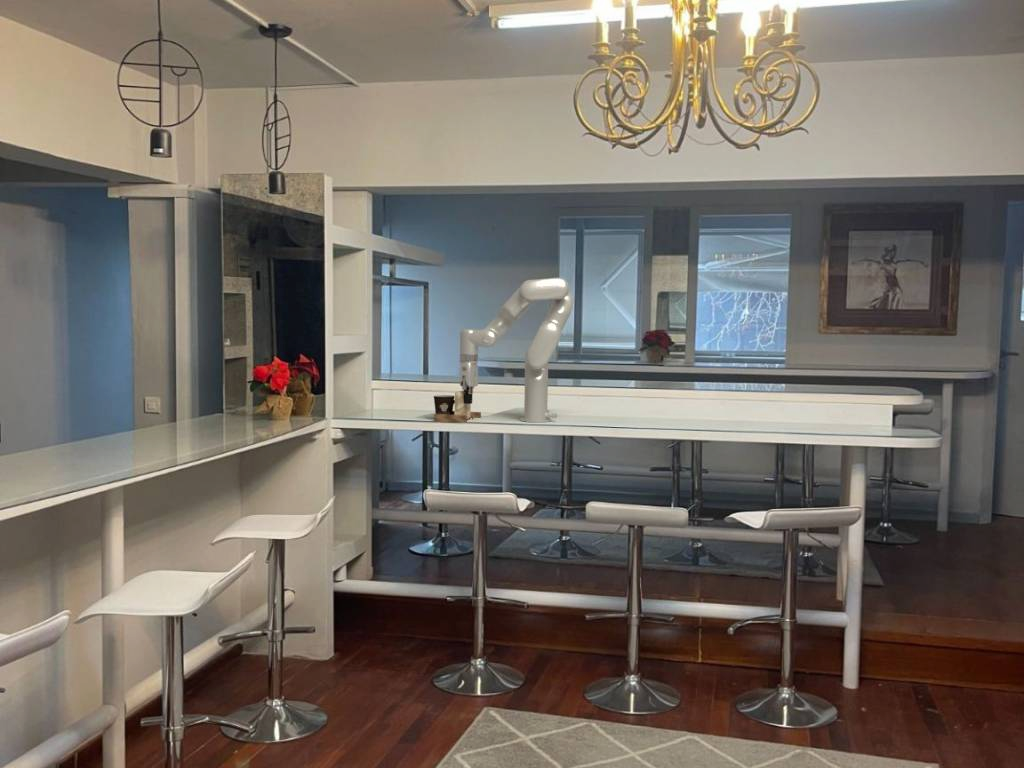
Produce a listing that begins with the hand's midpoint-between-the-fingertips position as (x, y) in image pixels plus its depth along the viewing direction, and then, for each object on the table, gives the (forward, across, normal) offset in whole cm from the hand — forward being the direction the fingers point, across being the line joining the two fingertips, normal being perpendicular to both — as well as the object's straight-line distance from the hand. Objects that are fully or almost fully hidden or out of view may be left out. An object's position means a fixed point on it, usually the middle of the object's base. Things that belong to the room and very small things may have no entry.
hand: (467, 403), depth 395 cm
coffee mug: (+8, 0, +9) cm, 12 cm away
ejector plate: (+7, 0, +2) cm, 8 cm away
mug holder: (+7, 0, +4) cm, 9 cm away
